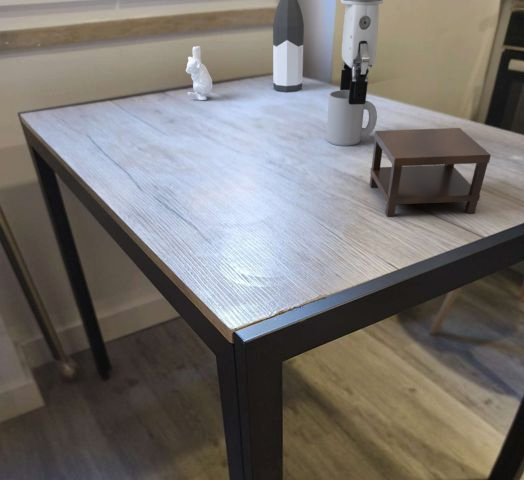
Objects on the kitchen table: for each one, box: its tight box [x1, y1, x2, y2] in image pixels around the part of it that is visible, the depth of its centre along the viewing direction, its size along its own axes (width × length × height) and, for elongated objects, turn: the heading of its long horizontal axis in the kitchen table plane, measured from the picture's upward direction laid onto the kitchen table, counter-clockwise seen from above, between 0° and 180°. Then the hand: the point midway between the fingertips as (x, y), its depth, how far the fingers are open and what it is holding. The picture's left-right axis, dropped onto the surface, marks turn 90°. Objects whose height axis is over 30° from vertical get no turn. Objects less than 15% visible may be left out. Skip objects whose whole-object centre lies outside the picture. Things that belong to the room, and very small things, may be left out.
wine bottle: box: [272, 0, 305, 93], centre depth 133 cm, size 8×8×30 cm
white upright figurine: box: [185, 45, 213, 101], centre depth 132 cm, size 8×7×12 cm
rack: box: [369, 127, 492, 217], centre depth 81 cm, size 14×13×9 cm
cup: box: [326, 89, 378, 147], centre depth 104 cm, size 7×10×9 cm
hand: (352, 97), depth 101 cm, fingers open, 9 cm apart
